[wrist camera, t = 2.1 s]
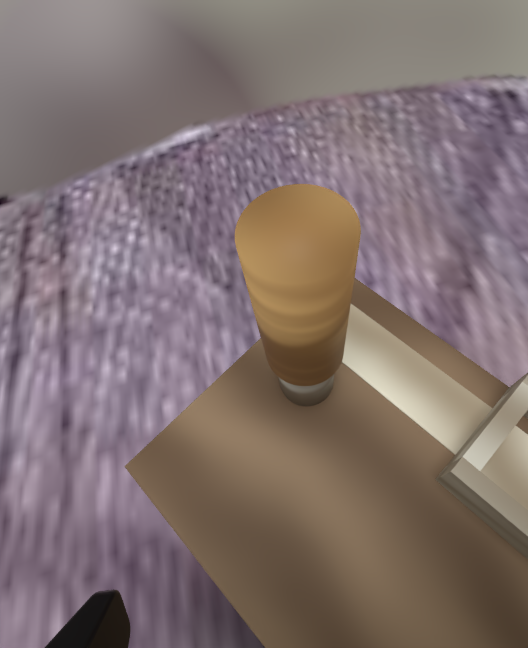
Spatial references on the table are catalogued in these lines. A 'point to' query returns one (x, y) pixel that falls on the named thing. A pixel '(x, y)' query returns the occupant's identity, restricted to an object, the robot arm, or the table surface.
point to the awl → (300, 282)
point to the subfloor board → (357, 494)
